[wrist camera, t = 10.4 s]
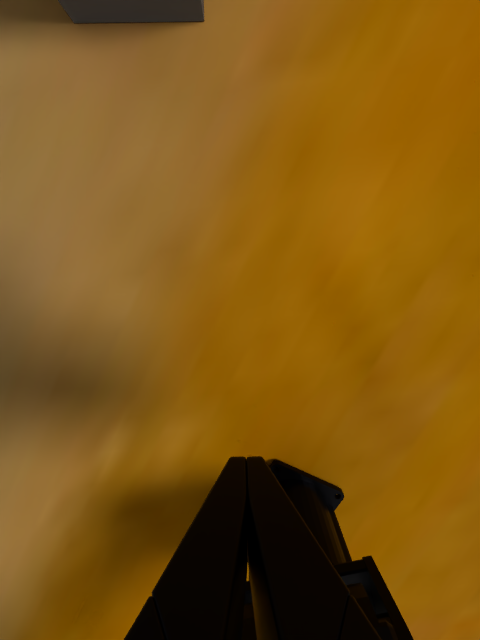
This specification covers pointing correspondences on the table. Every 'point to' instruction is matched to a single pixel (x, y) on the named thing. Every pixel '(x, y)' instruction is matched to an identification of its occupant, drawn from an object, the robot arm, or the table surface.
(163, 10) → the camera body
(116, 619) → the table surface
